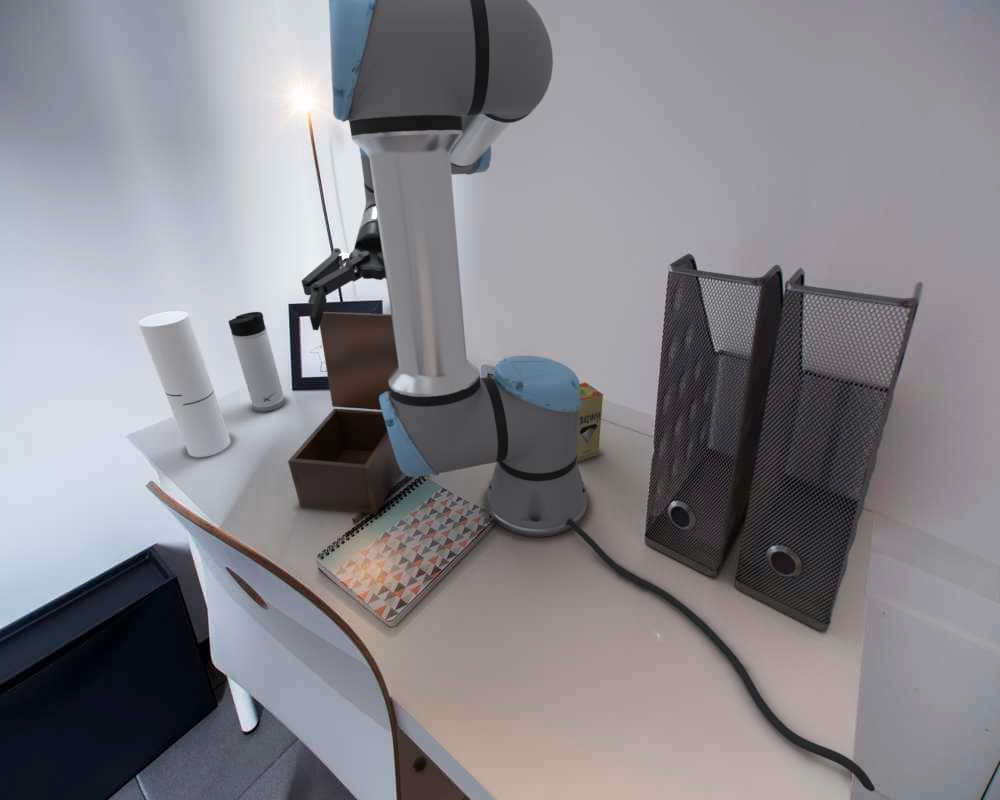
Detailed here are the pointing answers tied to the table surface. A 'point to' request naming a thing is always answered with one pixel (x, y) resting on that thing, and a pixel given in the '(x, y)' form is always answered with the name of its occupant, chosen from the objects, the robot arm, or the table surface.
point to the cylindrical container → (185, 381)
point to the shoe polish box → (589, 422)
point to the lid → (358, 357)
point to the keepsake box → (346, 463)
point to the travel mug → (257, 361)
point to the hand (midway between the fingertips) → (360, 327)
